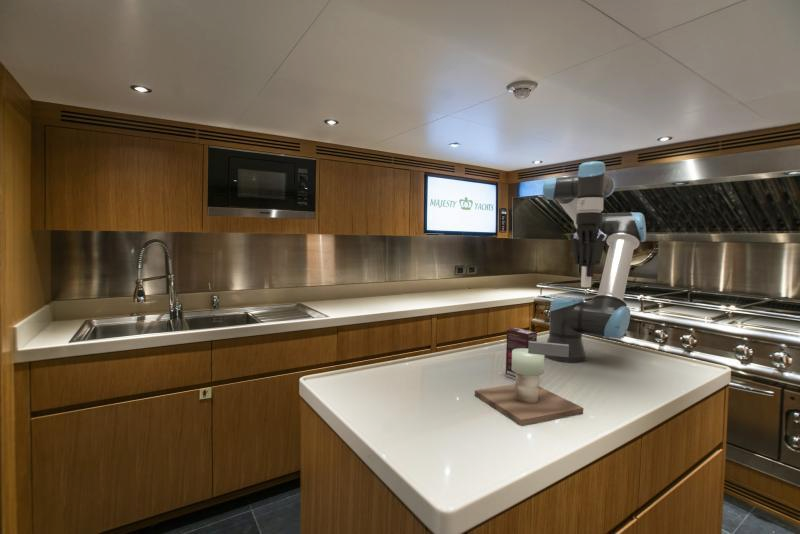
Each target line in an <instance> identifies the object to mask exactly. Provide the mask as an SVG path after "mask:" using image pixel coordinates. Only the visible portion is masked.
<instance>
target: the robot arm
mask: <svg viewBox="0 0 800 534" xmlns="http://www.w3.org/2000/svg"><path fill="white" fill-rule="evenodd" d="M606 171H607V170H606V164H605V162H603V161H587V162H583V163H581V164H580V165H578V173H577V175H573V176H571V175H570V176H561V177H560V176H559V177H553V178H546V180H545V181H544V183H543V186H542V193H543V197H544V198H545V200H552V201H553V200H556V202H557V203H558V204H559V205H560V206H561V208H563V210H564V211H565V213H566V214H567V215H568V216H569V217H570V219H571V220H572V221H573V225H574V227H575V229H576V231H575V233H572V234H570V235H569V238H570V240H571V243H572V245H571V246H572V250H573V251H572V253H573V258H574V264H577V265H579V266H580V267H579V276H580V287H581V288H591V287H592V277H594V268H595V266H599V265H600V264H601V259H602V256H603V252H604V249H605V246H606V244H607V246H609V247H608V250H607V254H606V258H605V263H604V267H603V271H602V275H601V280H600V283H599V288H598V292H597V294H596V295H593V296H592V298H591V301H590V302H585V299H584V298H583V297H562V298H561V297H559V298H555V299H553V300H552V301H551V302H550V308H549V309H550V310H549V331H548V332H549V335H548V338H547V340H546V343H557V344H568V345H569V357H560V356H550V355H545V358H547V359H549V360H552V361H555V362H556V361H557V362H563V363H572V364H573V363H582V362H583V363H584V362H585V361H586V358H587V357H586V356H587V353H586V351H585V349H584V344H583V343H584V342H583V339H582V336H583V334H584V335H590V336H591V335H592V336H597V337H603V338H606V339H610V338H611V339H621V338H622V337H623V336H625V334H626V333H627V331H628V328H629V324H630V319H631V309H630V308H629V306H628V305H627V302H626V301H625V300H624V297H625V294H626V287H627V282H628V279H629V273H630V269H631V263H632V260H633V254H634V250H636V249H638V247H639V246H640V243H643V242H646V240H647V227H646V218H645V215H644V214H643V213H641V212H632V211H630V212H608V213H607V212H604V213H602V212H603V211H604V198H607V197H610V196H611V195H612V194H613V193H614V192H615V189H616V183H615V180H614V179H613V177H612V176H610V175H608V174H606Z"/></svg>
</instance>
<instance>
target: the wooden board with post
mask: <svg viewBox="0 0 800 534" xmlns="http://www.w3.org/2000/svg"><path fill="white" fill-rule="evenodd" d="M539 382H540V375H539V376H528V375H522V374H518V373H516V380H515V383H514V384H509V385H502V386H494V387H488V388H483V389H481V388H480V389H476V390H474V396H475V397H476V398H477V399H479V400H481V401H482V402H484V403H486V404H487V405H488V406H489V407H491V408H493V409H495V410H496V411H498V412H500V413H501V414H502V415H504V416H505V417H507V418H508V419H510V420H511V421H512V422H514V423H517V425H519V426H521V427H523V426H528V425H533V424H537V423H543V422H547V421H552V420H558V419H563V418H567V417H572V416H577V415H583V414H584V407H583V406H581V405H578V404H576V403H575V402H572V401H570V400H568V399H566V398H564V397H562V396H560V395H558V394H556V393H554V392H551V391H549V390H548V389H546V388H543V387H542V386H540V385H539V384H540V383H539Z"/></svg>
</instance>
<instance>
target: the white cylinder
mask: <svg viewBox="0 0 800 534" xmlns="http://www.w3.org/2000/svg"><path fill="white" fill-rule="evenodd" d="M545 355H550V356H560V357H569V345H568V344H557V343H547V341H546V342H545V341H537V342H536V341H529V346H528V349H527V348H518V349H514V350H512V368H511V369H512V371H514V372H515V373H518V374H522V375H528V376H539V377H540V376H542V375H543V374H545V358H546V357H545Z"/></svg>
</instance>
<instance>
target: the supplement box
mask: <svg viewBox="0 0 800 534" xmlns="http://www.w3.org/2000/svg"><path fill="white" fill-rule="evenodd" d="M537 340H538V332H537V331H532V330H529V329H527V330H526V329H523V328H519V327H511V328H507V329H506V349H505V350H506V352H505V353H506V354H505V355H506V356H505V357H506V358H505V359H506V360H505V377H508V378H510V379H513V380H515V381H516V373H515V372H514V371H512V369H511V368H512V350H514V349H518V348H527V349H528V346H529V341H536V342H538V341H537Z"/></svg>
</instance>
